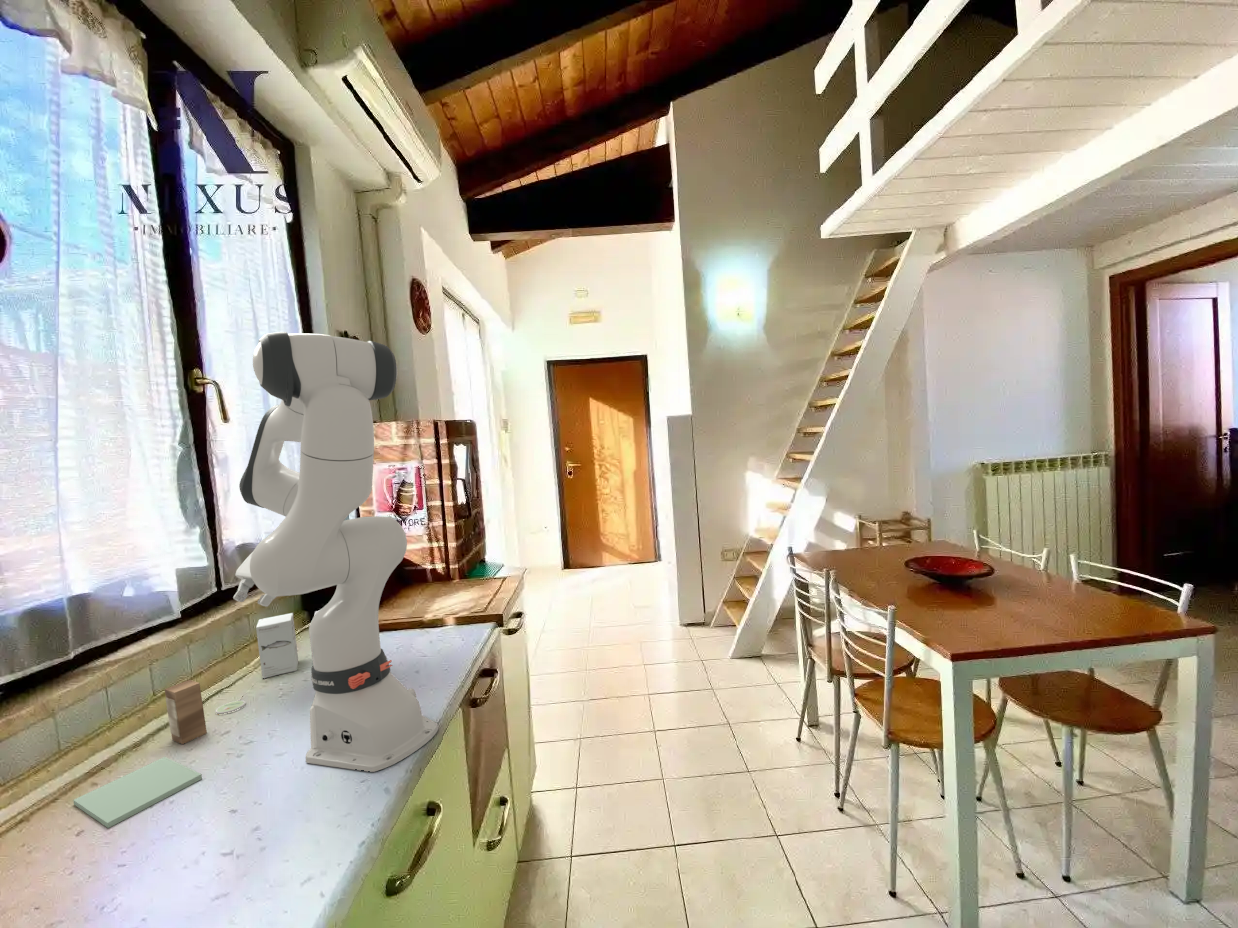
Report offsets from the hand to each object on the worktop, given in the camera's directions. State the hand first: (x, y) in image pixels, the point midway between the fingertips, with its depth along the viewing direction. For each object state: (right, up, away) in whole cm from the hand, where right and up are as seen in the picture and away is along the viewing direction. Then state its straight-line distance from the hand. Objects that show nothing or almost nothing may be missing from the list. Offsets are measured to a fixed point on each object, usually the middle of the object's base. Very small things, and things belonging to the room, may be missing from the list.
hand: (249, 602), depth 115 cm
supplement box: (-5, -21, +18) cm, 28 cm away
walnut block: (-5, -23, -10) cm, 26 cm away
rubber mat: (0, -24, -27) cm, 36 cm away
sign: (-5, -22, +5) cm, 24 cm away
